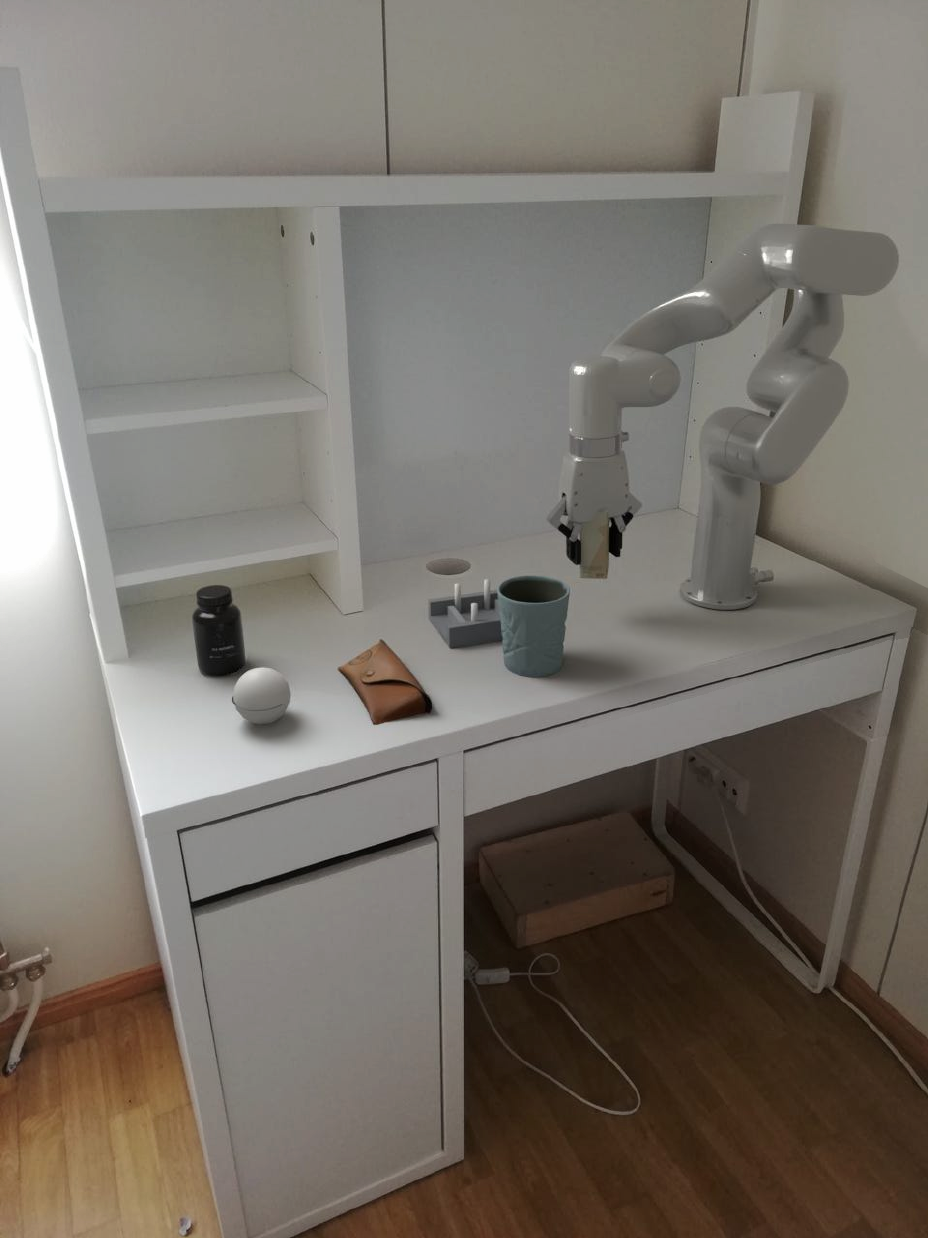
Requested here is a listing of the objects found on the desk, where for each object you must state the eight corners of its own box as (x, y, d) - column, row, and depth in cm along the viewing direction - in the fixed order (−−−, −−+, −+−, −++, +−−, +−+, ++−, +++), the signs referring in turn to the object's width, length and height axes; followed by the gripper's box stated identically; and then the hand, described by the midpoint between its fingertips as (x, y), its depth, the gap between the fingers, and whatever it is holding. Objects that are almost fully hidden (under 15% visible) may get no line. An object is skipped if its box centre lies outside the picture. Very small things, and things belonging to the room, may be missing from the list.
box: (607, 579, 140) (607, 511, 135) (578, 579, 140) (578, 511, 135) (609, 566, 144) (610, 499, 139) (581, 565, 145) (581, 499, 140)
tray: (509, 606, 151) (510, 573, 148) (535, 634, 141) (536, 599, 139) (428, 618, 147) (427, 584, 144) (449, 648, 137) (449, 612, 135)
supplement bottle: (222, 682, 128) (212, 605, 123) (188, 670, 132) (177, 594, 127) (256, 662, 134) (248, 587, 129) (223, 651, 137) (213, 578, 132)
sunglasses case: (332, 666, 132) (352, 627, 131) (372, 679, 136) (392, 641, 135) (374, 727, 117) (397, 682, 116) (418, 739, 121) (440, 696, 120)
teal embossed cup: (579, 669, 131) (584, 593, 126) (521, 687, 127) (522, 609, 122) (540, 642, 139) (543, 569, 134) (483, 657, 135) (484, 583, 130)
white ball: (252, 702, 123) (246, 654, 120) (302, 710, 122) (297, 661, 118) (214, 741, 115) (206, 690, 112) (266, 750, 113) (260, 699, 110)
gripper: (635, 430, 139) (632, 540, 147) (530, 446, 134) (533, 559, 142) (660, 442, 132) (655, 556, 140) (551, 459, 128) (552, 576, 136)
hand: (594, 556), depth 141 cm, fingers closed on box, 6 cm apart
